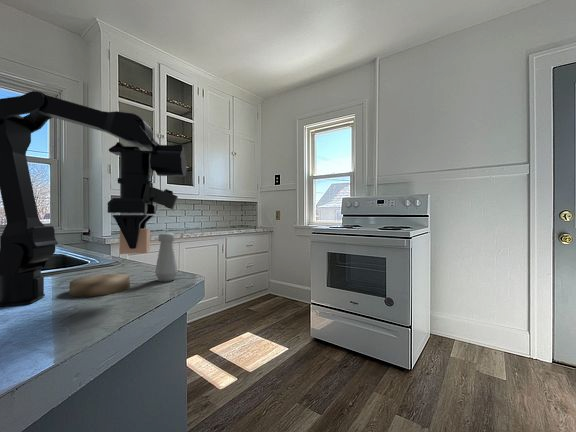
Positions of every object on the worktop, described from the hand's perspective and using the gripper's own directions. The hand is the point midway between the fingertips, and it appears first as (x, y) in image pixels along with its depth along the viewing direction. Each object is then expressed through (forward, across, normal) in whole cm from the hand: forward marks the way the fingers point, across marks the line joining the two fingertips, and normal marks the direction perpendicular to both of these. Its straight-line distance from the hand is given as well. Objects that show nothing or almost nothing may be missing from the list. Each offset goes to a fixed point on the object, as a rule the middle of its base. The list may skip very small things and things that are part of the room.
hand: (135, 247), depth 61 cm
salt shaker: (+11, +16, -5) cm, 20 cm away
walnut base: (+11, +10, +9) cm, 17 cm away
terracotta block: (+1, 0, 0) cm, 1 cm away
